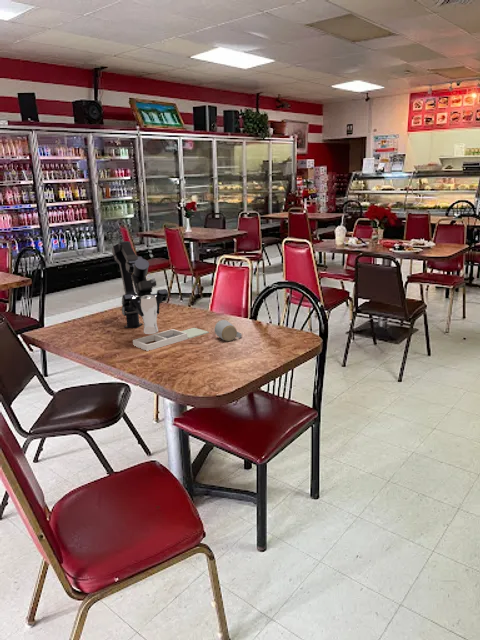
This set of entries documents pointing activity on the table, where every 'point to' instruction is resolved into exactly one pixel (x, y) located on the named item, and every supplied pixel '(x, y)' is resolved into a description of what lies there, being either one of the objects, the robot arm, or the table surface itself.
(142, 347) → the white divided tray
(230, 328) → the ceramic mug
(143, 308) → the shiny metal tumbler
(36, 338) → the table surface
